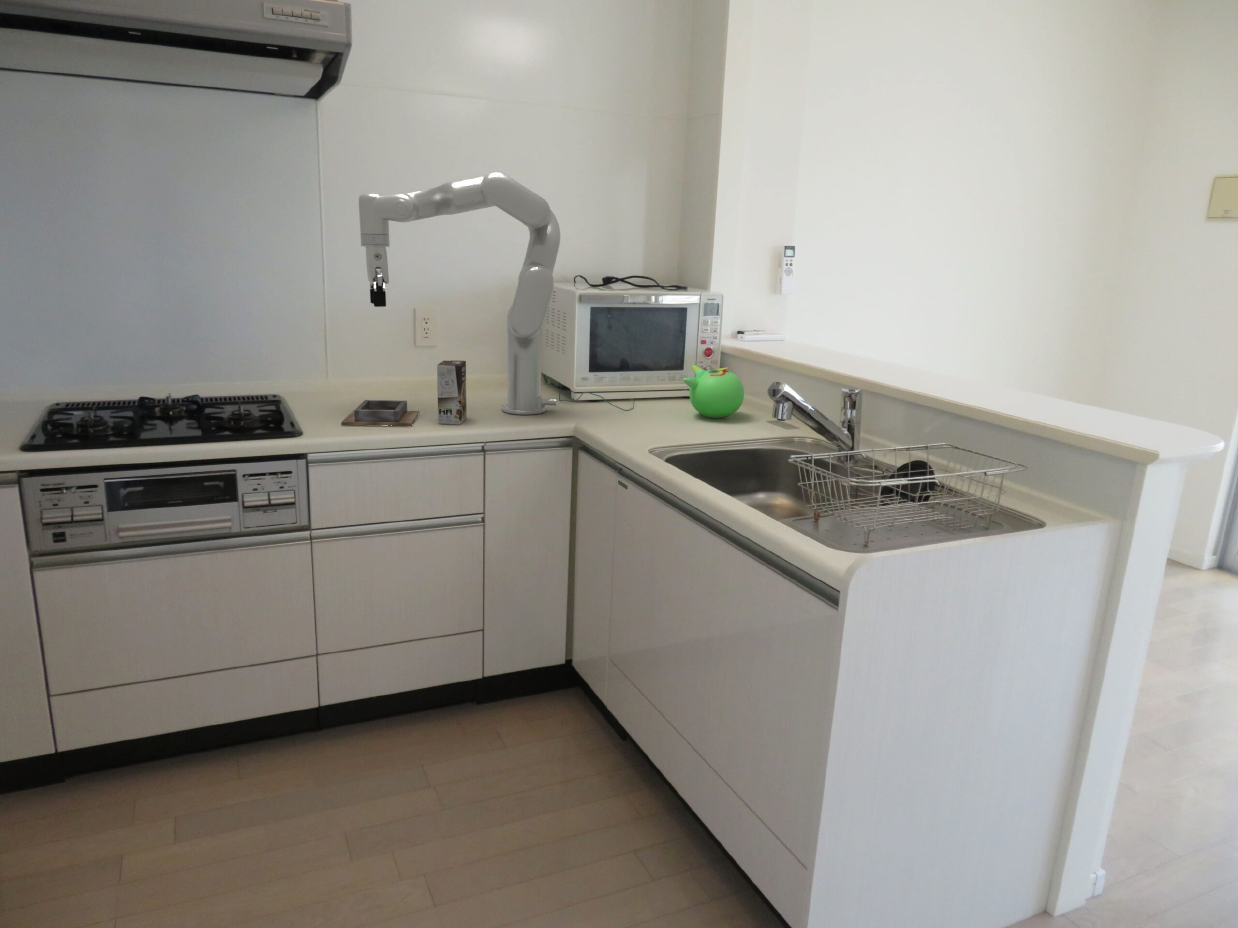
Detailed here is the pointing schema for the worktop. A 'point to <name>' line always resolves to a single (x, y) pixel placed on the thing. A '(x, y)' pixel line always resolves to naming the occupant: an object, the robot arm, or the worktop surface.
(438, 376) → the coffee box
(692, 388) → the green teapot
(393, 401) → the dock
